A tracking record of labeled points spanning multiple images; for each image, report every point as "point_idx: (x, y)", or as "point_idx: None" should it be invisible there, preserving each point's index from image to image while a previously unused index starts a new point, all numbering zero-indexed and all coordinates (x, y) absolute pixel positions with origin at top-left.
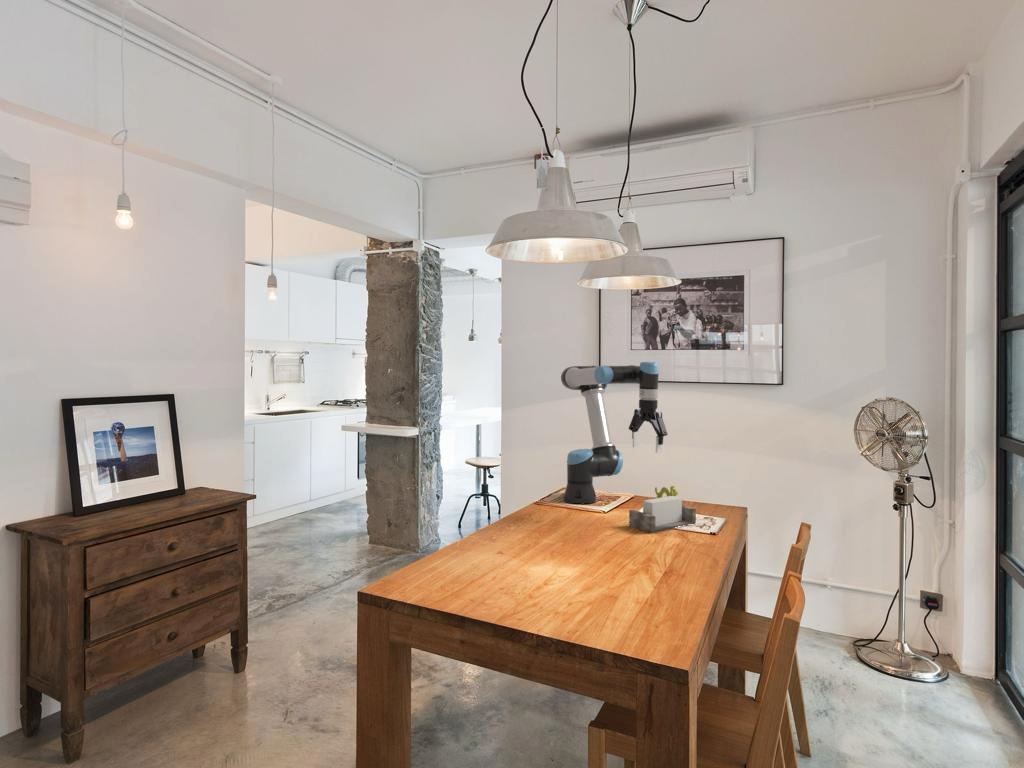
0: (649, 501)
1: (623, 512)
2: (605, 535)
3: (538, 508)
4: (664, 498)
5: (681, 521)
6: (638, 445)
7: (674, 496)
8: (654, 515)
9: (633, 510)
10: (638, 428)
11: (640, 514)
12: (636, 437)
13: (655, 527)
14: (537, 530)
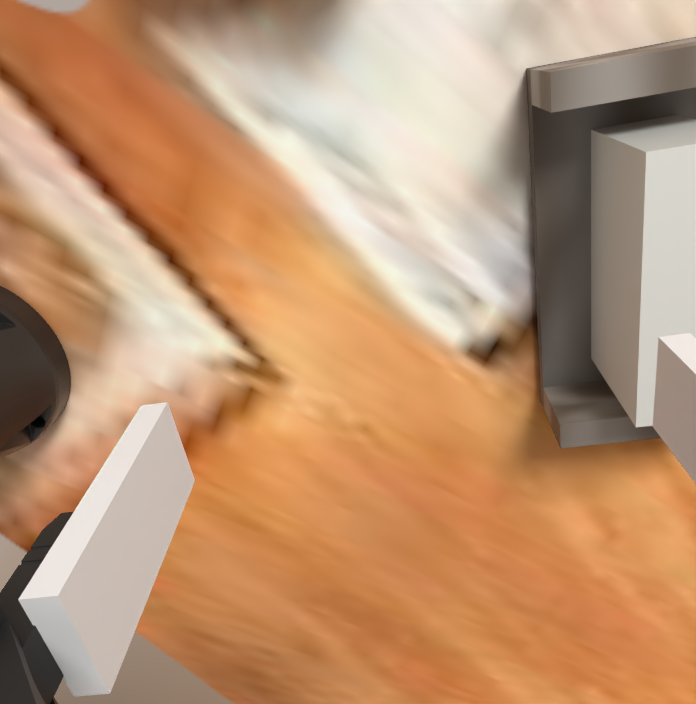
0: None
1: (295, 284)
2: (603, 549)
3: None
4: (677, 270)
5: None
6: (161, 419)
7: (675, 153)
8: None
9: (577, 433)
10: (38, 701)
11: (653, 436)
12: (130, 556)
13: None
14: (418, 689)
